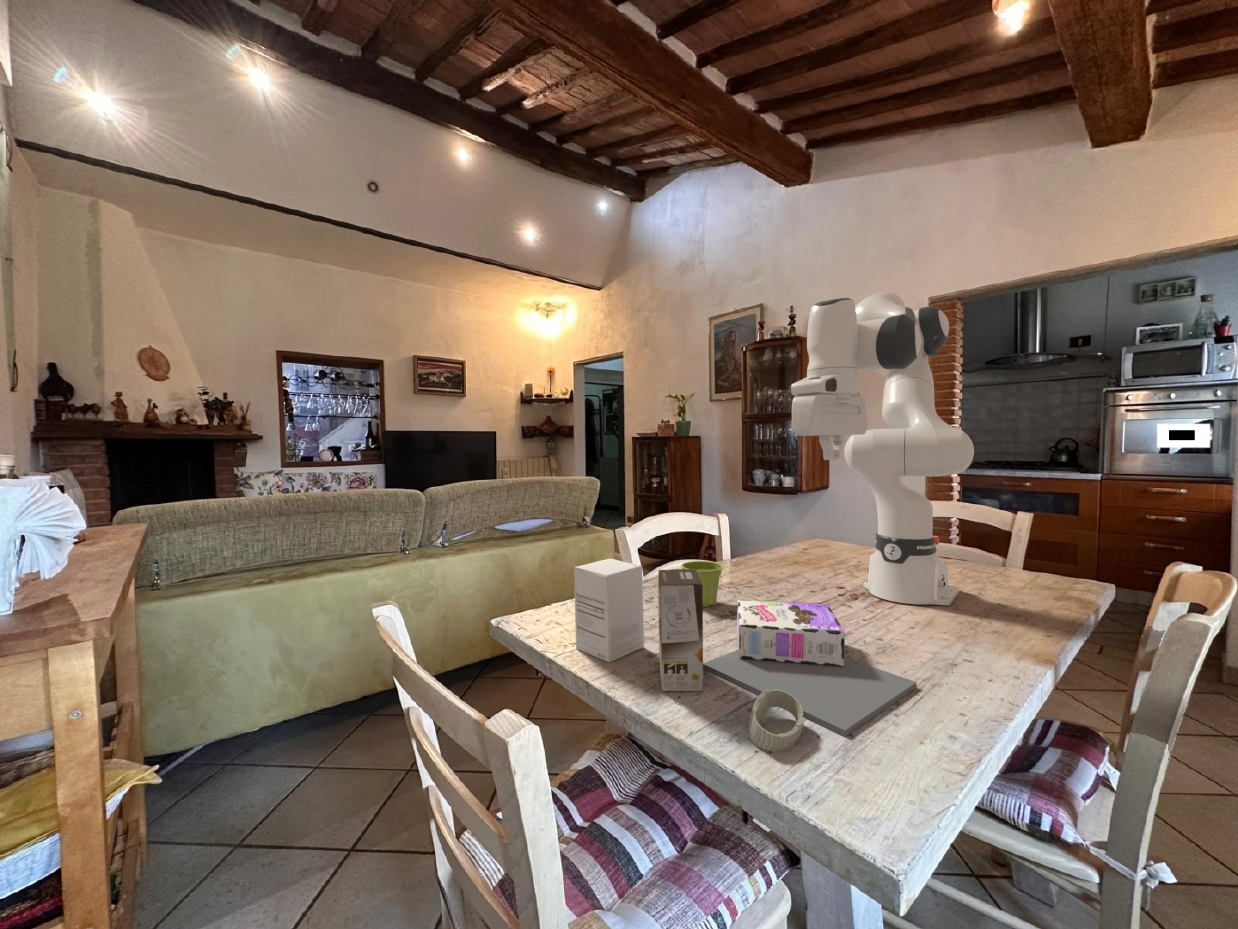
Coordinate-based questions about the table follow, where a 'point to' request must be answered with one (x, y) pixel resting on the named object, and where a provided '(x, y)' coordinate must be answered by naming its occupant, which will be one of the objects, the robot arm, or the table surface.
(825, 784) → the table surface
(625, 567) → the supplement box
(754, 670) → the mat
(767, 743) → the beige ribbed ring
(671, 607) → the coffee box
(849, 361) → the robot arm
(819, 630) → the candy box
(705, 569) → the plant pot
